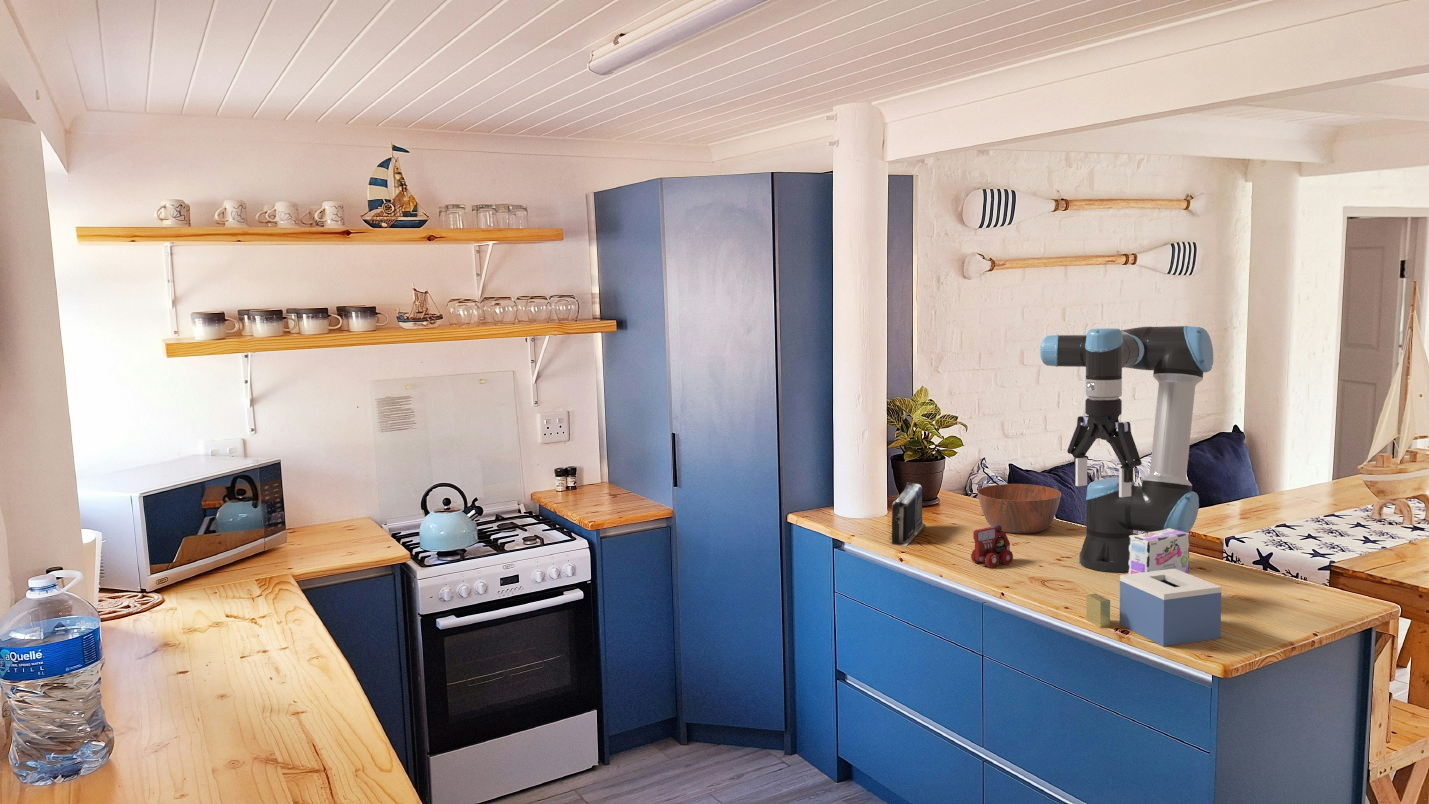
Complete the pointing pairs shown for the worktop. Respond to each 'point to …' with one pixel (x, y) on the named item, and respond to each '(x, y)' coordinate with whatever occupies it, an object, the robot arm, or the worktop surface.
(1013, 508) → the bowl
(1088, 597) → the wooden toy block
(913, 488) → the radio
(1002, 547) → the toy fire truck
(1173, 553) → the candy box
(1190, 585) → the coin box
